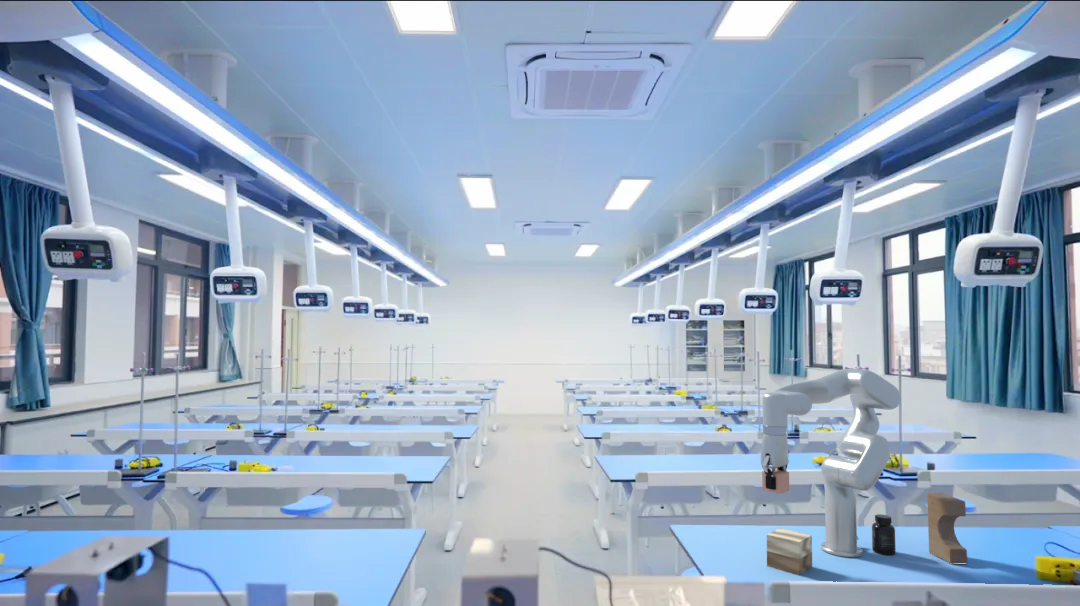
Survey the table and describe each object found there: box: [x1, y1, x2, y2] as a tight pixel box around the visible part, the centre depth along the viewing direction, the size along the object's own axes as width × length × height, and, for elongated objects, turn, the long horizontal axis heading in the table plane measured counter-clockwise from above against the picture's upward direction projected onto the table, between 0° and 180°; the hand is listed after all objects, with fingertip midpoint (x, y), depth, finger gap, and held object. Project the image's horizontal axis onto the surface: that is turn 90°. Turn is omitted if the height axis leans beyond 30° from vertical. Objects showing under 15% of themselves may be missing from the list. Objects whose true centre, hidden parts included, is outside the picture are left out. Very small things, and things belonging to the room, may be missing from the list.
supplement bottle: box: [871, 513, 897, 557], centre depth 202 cm, size 7×7×12 cm
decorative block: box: [927, 492, 968, 564], centre depth 198 cm, size 11×6×20 cm, turn 0°
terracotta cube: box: [761, 469, 790, 495], centre depth 193 cm, size 6×6×6 cm
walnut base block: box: [766, 550, 813, 576], centre depth 187 cm, size 10×10×5 cm
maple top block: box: [766, 527, 813, 559], centre depth 188 cm, size 10×10×5 cm
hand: (776, 486), depth 193 cm, fingers closed on terracotta cube, 6 cm apart
